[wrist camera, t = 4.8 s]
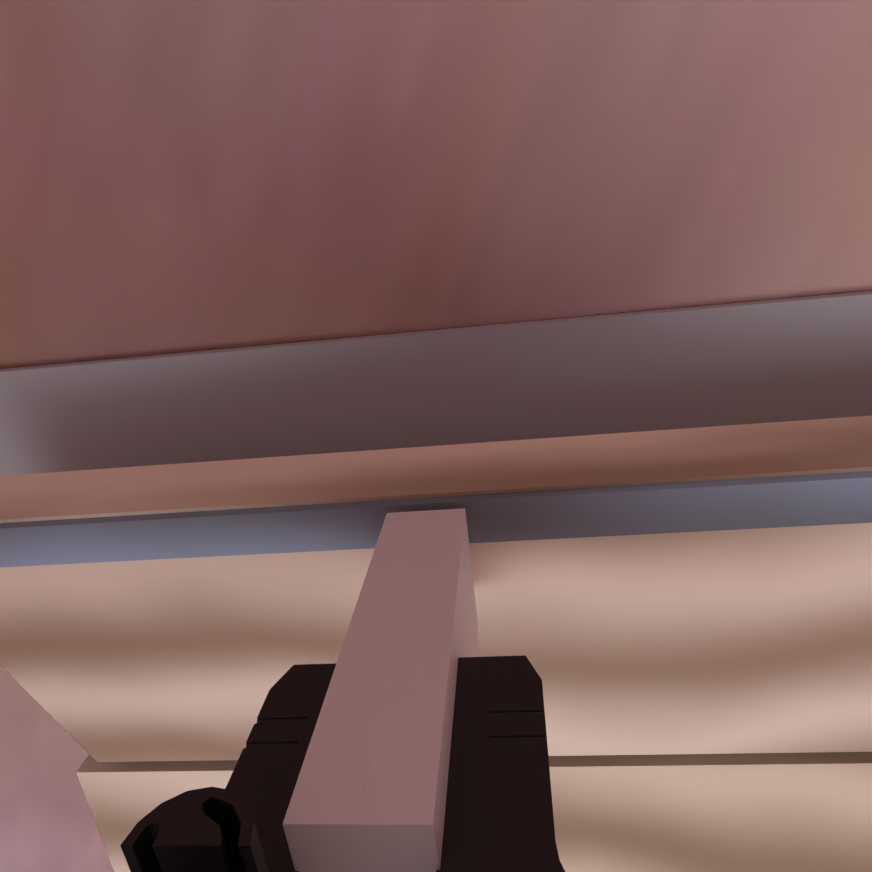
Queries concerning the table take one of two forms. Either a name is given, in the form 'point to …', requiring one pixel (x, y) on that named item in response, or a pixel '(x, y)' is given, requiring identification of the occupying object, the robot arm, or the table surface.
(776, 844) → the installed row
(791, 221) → the table surface
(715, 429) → the plank
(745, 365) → the tray
